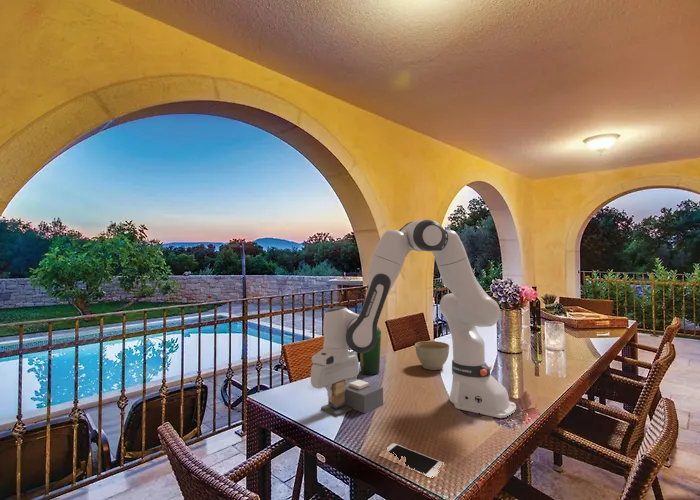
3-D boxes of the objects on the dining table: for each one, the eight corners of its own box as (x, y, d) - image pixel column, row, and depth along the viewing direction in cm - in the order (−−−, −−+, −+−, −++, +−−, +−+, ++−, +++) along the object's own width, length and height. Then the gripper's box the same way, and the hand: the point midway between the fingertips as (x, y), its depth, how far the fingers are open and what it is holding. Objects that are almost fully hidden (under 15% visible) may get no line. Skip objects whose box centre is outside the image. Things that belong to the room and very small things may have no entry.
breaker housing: (383, 404, 125) (382, 387, 125) (364, 413, 118) (364, 395, 118) (354, 394, 135) (354, 378, 135) (335, 402, 127) (335, 385, 128)
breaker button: (369, 396, 126) (368, 382, 126) (359, 400, 123) (359, 386, 123) (358, 393, 130) (358, 379, 130) (349, 397, 126) (349, 383, 126)
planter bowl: (446, 362, 175) (446, 340, 175) (452, 373, 159) (452, 349, 159) (413, 362, 176) (413, 340, 177) (416, 372, 160) (416, 348, 161)
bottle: (369, 367, 168) (368, 309, 169) (386, 372, 161) (385, 311, 162) (353, 372, 161) (353, 311, 162) (370, 377, 153) (370, 313, 154)
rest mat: (351, 410, 120) (351, 407, 120) (337, 416, 115) (337, 414, 115) (335, 403, 126) (335, 401, 126) (321, 409, 121) (321, 407, 121)
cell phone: (432, 481, 82) (432, 478, 82) (377, 457, 92) (377, 454, 92) (447, 466, 88) (447, 463, 88) (393, 444, 98) (393, 442, 98)
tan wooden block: (344, 404, 121) (344, 381, 121) (336, 408, 118) (336, 384, 118) (336, 401, 124) (336, 378, 124) (328, 404, 121) (328, 381, 121)
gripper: (350, 346, 131) (350, 384, 130) (307, 358, 116) (307, 400, 116) (362, 349, 126) (363, 388, 126) (320, 361, 112) (320, 405, 111)
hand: (336, 394), depth 121 cm, fingers closed on tan wooden block, 4 cm apart
